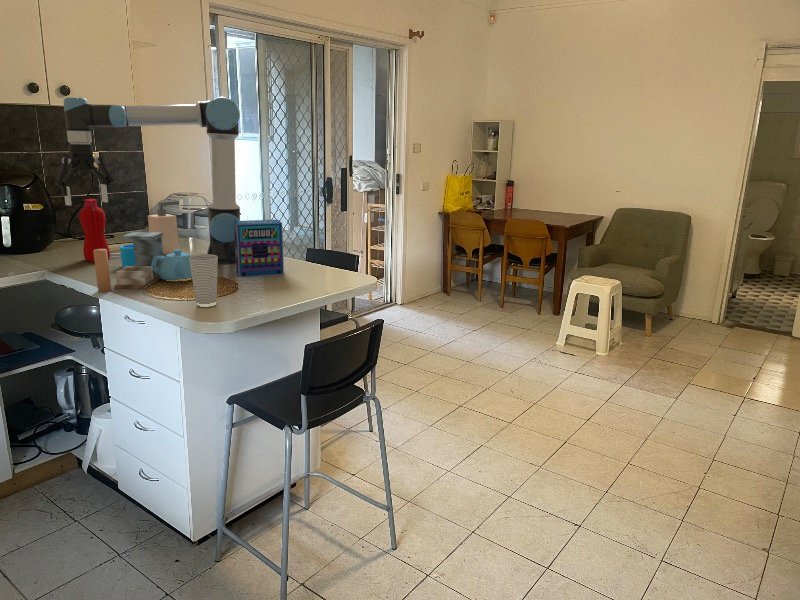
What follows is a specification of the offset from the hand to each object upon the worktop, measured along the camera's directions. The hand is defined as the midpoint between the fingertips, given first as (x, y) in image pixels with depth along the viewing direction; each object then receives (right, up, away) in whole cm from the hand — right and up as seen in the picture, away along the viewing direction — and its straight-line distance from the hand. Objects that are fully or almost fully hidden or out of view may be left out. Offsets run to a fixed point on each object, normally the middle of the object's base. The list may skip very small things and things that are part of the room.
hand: (87, 203), depth 217 cm
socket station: (+21, -29, -4) cm, 36 cm away
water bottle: (-11, -19, +29) cm, 36 cm away
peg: (+15, -32, -16) cm, 39 cm away
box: (+60, -25, +12) cm, 66 cm away
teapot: (+33, -27, +2) cm, 43 cm away
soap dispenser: (+11, -14, +49) cm, 52 cm away
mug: (+10, -22, +21) cm, 31 cm away
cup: (+53, -37, -30) cm, 72 cm away
